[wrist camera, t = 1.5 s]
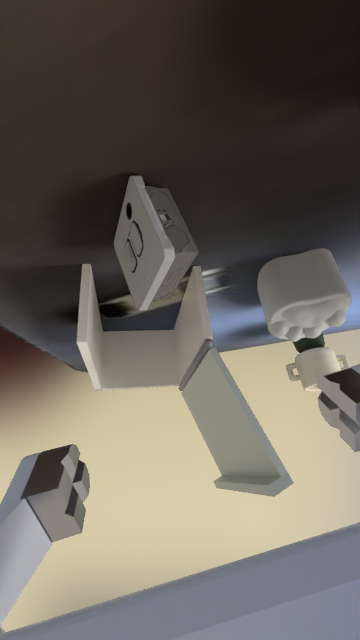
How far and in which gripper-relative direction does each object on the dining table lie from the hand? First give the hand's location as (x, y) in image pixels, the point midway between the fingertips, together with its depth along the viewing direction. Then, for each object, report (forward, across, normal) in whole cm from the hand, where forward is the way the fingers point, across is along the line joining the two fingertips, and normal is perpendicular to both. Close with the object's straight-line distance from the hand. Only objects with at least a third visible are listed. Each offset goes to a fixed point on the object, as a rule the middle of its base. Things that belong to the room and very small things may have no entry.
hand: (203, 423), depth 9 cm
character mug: (+42, +27, -20) cm, 53 cm away
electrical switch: (+24, +1, +7) cm, 25 cm away
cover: (+22, +2, -21) cm, 30 cm away
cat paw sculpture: (+32, +20, -7) cm, 39 cm away
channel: (+36, -3, -6) cm, 37 cm away
